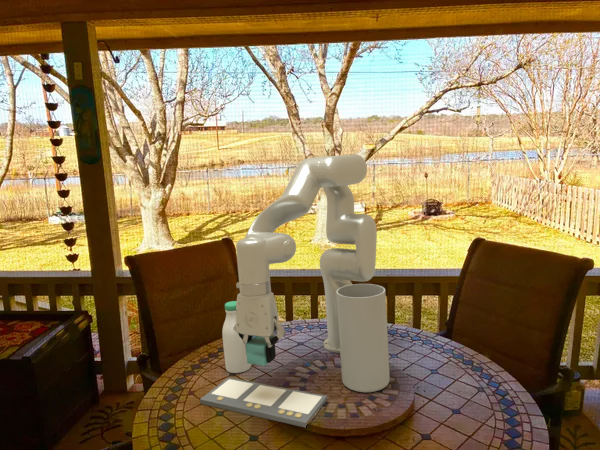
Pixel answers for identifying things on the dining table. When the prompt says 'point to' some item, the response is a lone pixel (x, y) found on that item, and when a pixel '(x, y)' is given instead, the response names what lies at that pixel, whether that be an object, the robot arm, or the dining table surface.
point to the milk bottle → (233, 343)
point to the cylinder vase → (363, 337)
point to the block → (256, 351)
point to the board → (265, 401)
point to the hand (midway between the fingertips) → (261, 358)
